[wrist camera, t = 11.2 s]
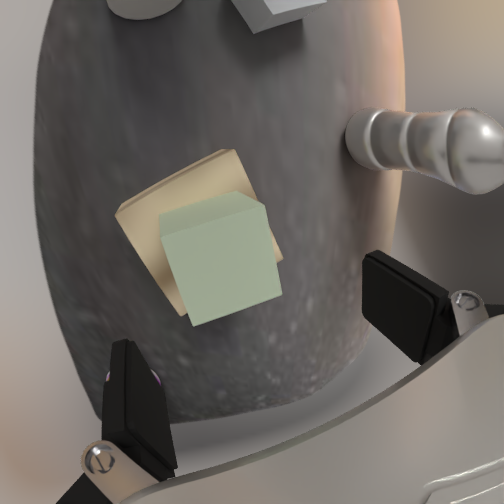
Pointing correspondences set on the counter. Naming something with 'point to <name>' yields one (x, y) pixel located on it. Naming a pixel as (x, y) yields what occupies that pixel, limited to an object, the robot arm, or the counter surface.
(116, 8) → the can
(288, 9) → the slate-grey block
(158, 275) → the beech block
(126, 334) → the counter surface
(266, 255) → the sage-green block
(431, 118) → the plastic bottle
